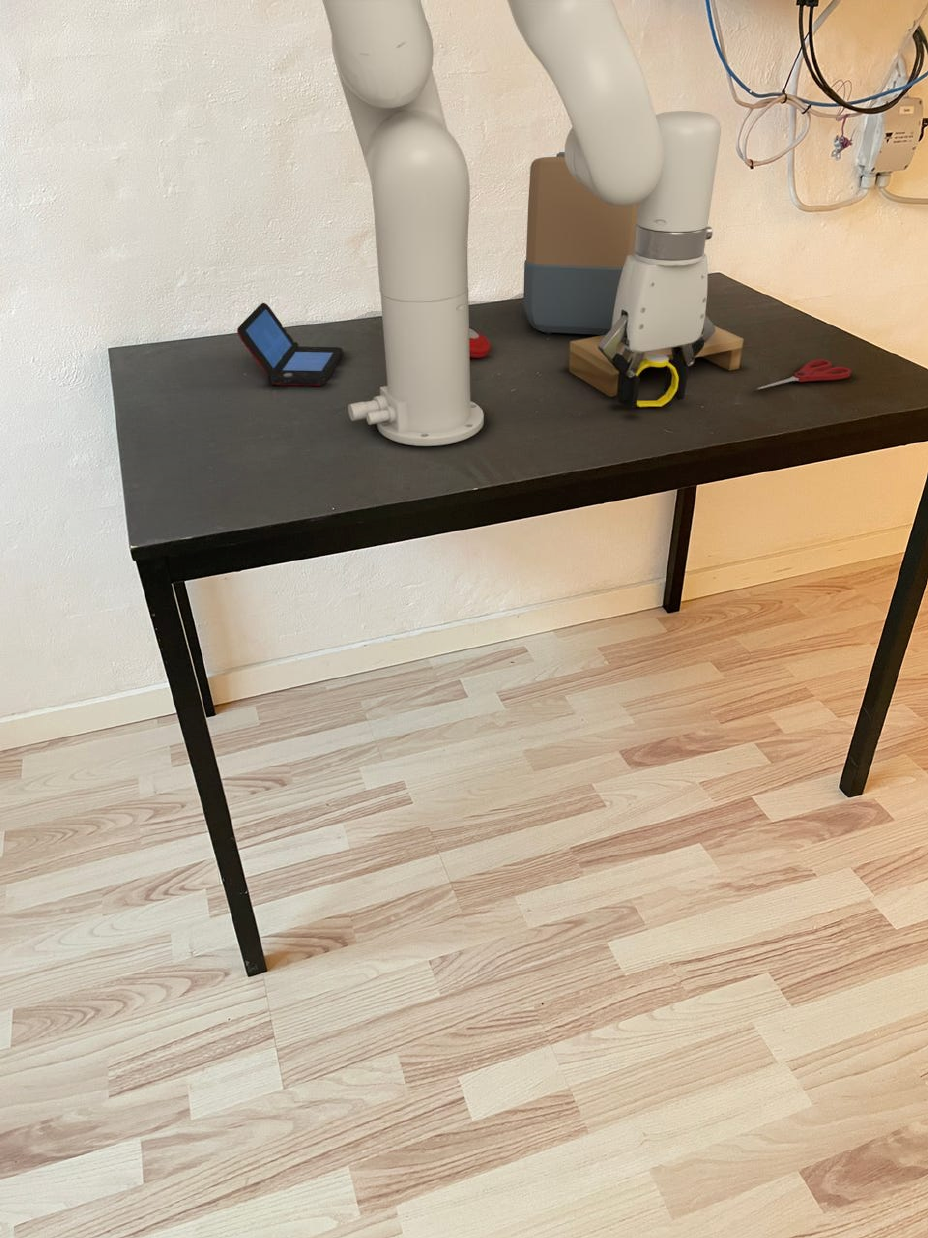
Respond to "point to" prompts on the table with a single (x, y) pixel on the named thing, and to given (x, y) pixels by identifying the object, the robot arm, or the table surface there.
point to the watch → (663, 361)
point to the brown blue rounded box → (572, 252)
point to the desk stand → (604, 376)
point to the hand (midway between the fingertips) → (650, 399)
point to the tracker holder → (478, 344)
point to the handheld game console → (285, 351)
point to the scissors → (816, 373)
